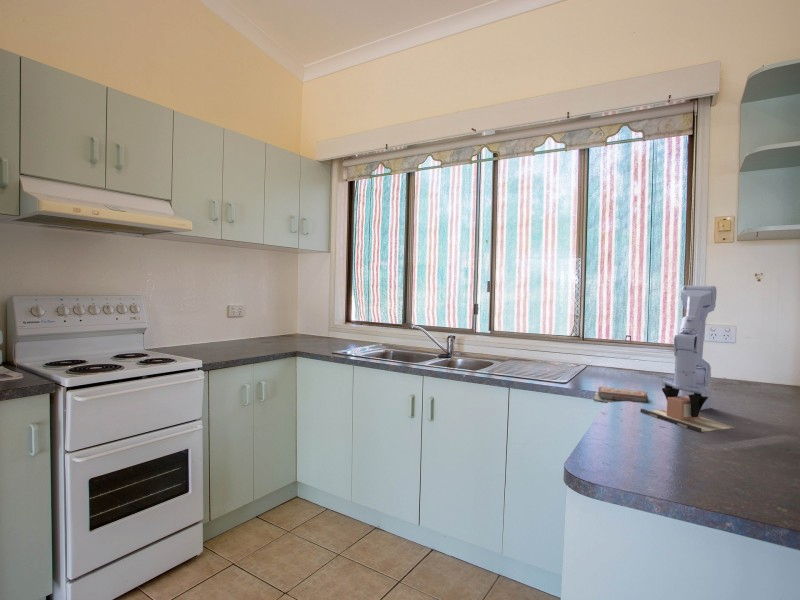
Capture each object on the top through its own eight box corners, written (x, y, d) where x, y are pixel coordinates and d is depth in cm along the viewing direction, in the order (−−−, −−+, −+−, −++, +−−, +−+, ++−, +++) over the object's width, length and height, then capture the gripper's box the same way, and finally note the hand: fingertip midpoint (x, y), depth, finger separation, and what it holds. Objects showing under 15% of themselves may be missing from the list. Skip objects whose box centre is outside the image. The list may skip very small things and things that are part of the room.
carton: (666, 415, 141) (667, 397, 141) (684, 413, 144) (685, 395, 143) (681, 420, 136) (682, 401, 136) (700, 418, 139) (701, 399, 138)
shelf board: (673, 412, 149) (674, 405, 149) (734, 432, 131) (735, 424, 130) (639, 416, 145) (639, 408, 144) (697, 437, 126) (698, 428, 126)
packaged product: (647, 389, 164) (649, 396, 155) (647, 402, 164) (648, 409, 155) (595, 383, 172) (593, 389, 163) (594, 396, 172) (593, 402, 163)
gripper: (655, 367, 145) (654, 407, 145) (698, 376, 131) (695, 421, 132) (671, 366, 147) (669, 406, 148) (714, 375, 133) (712, 419, 134)
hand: (683, 413), depth 140 cm, fingers open, 7 cm apart
